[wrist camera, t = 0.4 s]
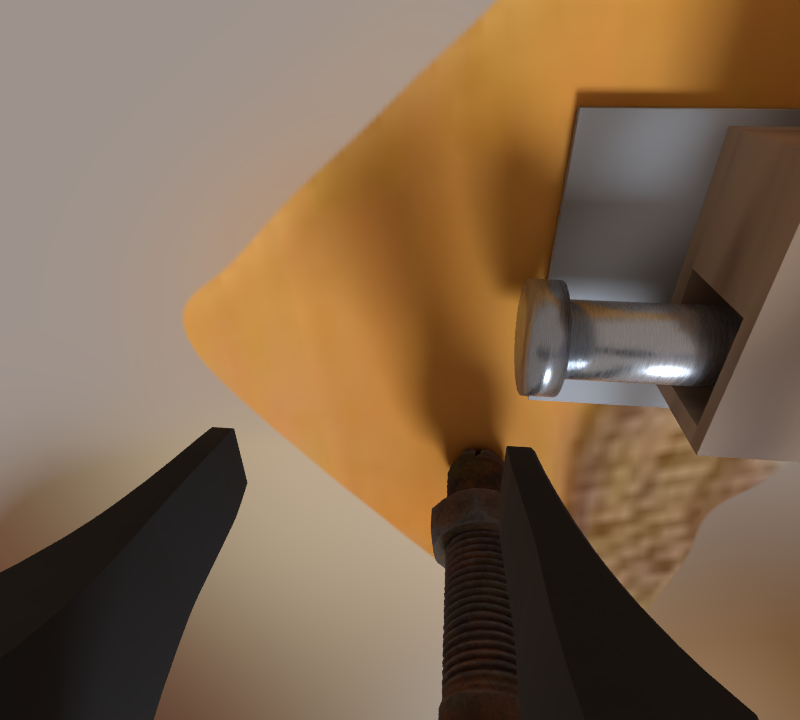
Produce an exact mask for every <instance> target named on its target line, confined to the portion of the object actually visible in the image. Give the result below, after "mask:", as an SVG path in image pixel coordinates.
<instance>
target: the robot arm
mask: <svg viewBox="0 0 800 720" xmlns="http://www.w3.org/2000/svg"><path fill="white" fill-rule="evenodd" d="M246 485H247V479H246V475H245V471H244V467H243V463H242V459H241V455H240V451H239V447H238V443H237V439H236V435H235V431H234V429H232V428H217V427H212V428H211V429H209V430H208V431H207V432H205V433H204V434H203V435H202V436H200V437H199V438H198V439H197V440H196V441H194V442H193V443H192V444H191V445H190V446H188V447H187V448H186V449H185V450H184V451H182V452H181V453H180V454H179V455H177V456H176V457H175V458H174V459H173V460H171V461H170V462H169V463H168V464H166V465H165V466H164V467H163V468H161V469H160V470H159V471H158V472H156V473H155V474H154V475H153V476H151V477H150V478H149V479H148V480H146V481H145V482H144V483H143V484H141V485H140V486H138V487H137V488H136V489H135V490H133V491H132V492H130V493H129V494H128V495H126V496H125V497H124V498H122V499H121V500H120V501H118V502H117V503H116V504H114V505H113V506H111V507H110V508H109V509H107V510H106V511H104V512H103V513H102V514H100V515H98V516H97V517H95V518H94V519H92V520H91V521H89V522H88V523H86V524H85V525H83V526H81V527H80V528H78V529H77V530H75V531H74V532H72V533H71V534H69V535H67V536H66V537H64V538H62V539H61V540H59V541H57V542H55V543H54V544H52V545H50V546H48V547H46V548H45V549H43V550H41V551H39V552H38V553H36V554H34V555H32V556H30V557H29V558H27V559H25V560H23V561H22V562H20V563H18V564H16V565H14V566H12V567H10V568H8V569H6V570H4V571H2V572H0V720H153V719H154V716H155V713H156V710H157V707H158V704H159V701H160V697H161V694H162V691H163V688H164V685H165V682H166V680H167V677H168V674H169V671H170V668H171V665H172V662H173V659H174V656H175V654H176V651H177V648H178V645H179V643H180V640H181V637H182V634H183V631H184V629H185V626H186V624H187V621H188V618H189V616H190V613H191V611H192V608H193V606H194V604H195V601H196V599H197V597H198V595H199V593H200V591H201V589H202V587H203V585H204V582H205V581H206V578H207V576H208V574H209V572H210V570H211V568H212V566H213V564H214V562H215V560H216V558H217V556H218V554H219V552H220V550H221V548H222V546H223V544H224V541H225V539H226V537H227V535H228V533H229V531H230V529H231V527H232V525H233V523H234V520H235V518H236V515H237V513H238V510H239V507H240V504H241V501H242V498H243V495H244V492H245V489H246ZM498 502H499V529H500V543H501V550H502V556H503V563H504V570H505V576H506V583H507V589H508V596H509V602H510V609H511V616H512V622H513V630H514V639H515V650H516V667H517V683H518V702H519V720H759V719H758V717H757V715H756V714H755V713H754V712H752V711H751V710H750V709H749V708H747V706H745V705H744V704H743V703H742V702H741V701H739V700H738V699H737V698H736V697H734V696H733V694H731V693H730V692H729V691H728V690H727V689H725V688H724V687H723V686H722V685H721V684H720V683H719V682H717V681H716V680H715V679H714V678H713V677H712V676H710V675H709V674H708V673H707V672H706V671H705V670H704V669H703V668H702V667H700V666H699V665H698V664H697V663H696V662H695V661H694V660H693V659H692V658H691V657H690V656H689V655H688V654H687V653H686V652H685V651H684V650H683V649H682V648H681V647H679V646H678V645H677V644H676V643H675V642H674V640H672V639H671V637H670V636H669V635H668V634H667V633H666V632H665V631H664V630H663V629H662V628H661V627H660V626H659V625H658V624H657V623H656V622H655V621H654V620H653V619H652V618H651V617H650V616H649V615H648V614H647V612H646V611H645V610H644V609H643V608H642V607H641V606H640V605H639V604H638V603H637V602H636V601H635V599H634V598H633V597H632V596H631V595H630V594H629V592H628V591H627V590H626V589H625V588H624V587H623V586H622V584H621V583H620V582H619V581H618V580H617V578H616V577H615V576H614V575H613V573H612V572H611V571H610V570H609V569H608V567H607V566H606V565H605V563H604V562H603V561H602V560H601V558H600V557H599V556H598V554H597V553H596V552H595V550H594V549H593V548H592V546H591V545H590V543H589V542H588V540H587V539H586V538H585V536H584V535H583V533H582V532H581V531H580V529H579V528H578V526H577V525H576V523H575V522H574V520H573V519H572V517H571V515H570V514H569V512H568V511H567V509H566V507H565V506H564V504H563V503H562V501H561V499H560V498H559V496H558V494H557V493H556V491H555V489H554V488H553V486H552V484H551V482H550V480H549V479H548V477H547V475H546V473H545V471H544V469H543V467H542V465H541V463H540V461H539V459H538V457H537V455H536V453H535V451H534V450H533V449H532V448H530V447H514V446H507V448H506V454H505V461H504V468H503V474H502V481H501V488H500V494H499V501H498Z"/></svg>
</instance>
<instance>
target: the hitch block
mask: <svg viewBox="0 0 800 720" xmlns="http://www.w3.org/2000/svg"><path fill="white" fill-rule="evenodd" d="M548 279H556V280H564V282H565V283H566V285H567V287H568V291H569V295H570V299H576V300H599V301H623V302H646V303H670V304H694V305H717V306H732V307H733V308H734V309H735V310H736V311H737V312H738V313H739V314H740V315H741V316H742V317H743V318H744V319H743V321H742V323H741V326H740V328H739V330H738V333H737V335H736V337H735V340H734V342H733V344H732V347H731V349H730V351H729V354H728V356H727V358H726V361H725V363H724V365H723V368H722V370H721V373H720V375H719V377H718V380H717V382H716V384H715V387H714V388H713V387H695V386H677V385H659V384H641V383H623V382H606V381H588V380H570V379H565V380H564V383H563V386H562V388H561V390H560V392H559V394H558V395H557V396H556V397H539V396H528V400H545V401H562V402H579V403H596V404H613V405H629V406H646V407H663V408H670V410H671V411H672V413H673V415H674V417H675V418H676V420H677V422H678V424H679V425H680V427H681V429H682V431H683V432H684V434H685V436H686V438H687V439H688V441H689V443H690V444H691V446H692V448H693V450H694V451H695V453H696V455H701V456H716V457H731V458H746V459H761V460H776V461H791V462H800V109H767V108H672V107H578V108H577V114H576V119H575V125H574V131H573V137H572V142H571V148H570V154H569V159H568V165H567V171H566V177H565V182H564V188H563V194H562V200H561V205H560V211H559V217H558V222H557V228H556V234H555V240H554V245H553V251H552V257H551V262H550V268H549V274H548Z"/></svg>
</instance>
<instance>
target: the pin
mask: <svg viewBox="0 0 800 720" xmlns="http://www.w3.org/2000/svg"><path fill="white" fill-rule="evenodd" d="M743 319H744V318H743V317H742V316H741V315H740V314H739V313H738V312H737V311H736V310H735V309H734V308H733V307H732V306H717V305H694V304H670V303H646V302H623V301H599V300H576V299H570V295H569V291H568V287H567V285H566V283H565V282H564V280H556V279H531V278H528V279H527V280H526V281H525V283H524V285H523V288H522V292H521V296H520V300H519V306H518V313H517V321H516V331H515V351H514V364H515V380H516V386H517V390H518V393H519V395H522V396H539V397H556V396H557V395H558V394H559V392H560V390H561V388H562V386H563V383H564V380H565V379H570V380H588V381H606V382H623V383H641V384H659V385H677V386H695V387H713V388H714V387H715V384H716V382H717V380H718V377H719V375H720V373H721V370H722V368H723V365H724V363H725V361H726V358H727V356H728V354H729V351H730V349H731V347H732V344H733V342H734V340H735V337H736V335H737V333H738V330H739V328H740V326H741V323H742V321H743Z"/></svg>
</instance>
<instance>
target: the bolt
mask: <svg viewBox="0 0 800 720" xmlns="http://www.w3.org/2000/svg"><path fill="white" fill-rule="evenodd" d="M475 452H476V450H475V451H474V450H473V449H468V450H464V452H463V454H462V455H461V456H460V457H459V459H458V460H457V461H456V462H455V463H454V464H453V465H452V466H451V468H450V470H449V472H448V481H447V483H448V485H447V498H445V499H443V500H442V501H441V502H440V503H438V504H437V505H436V506H435V507H434V508H432V515H431V535H432V544H433V551H434V555H435V559H436V561H437V563H439V564H440V565H441V566H443V567H444V568H445V588H444V589H445V593H444V597H445V600H444V606H445V607H444V626H443V629H444V634H443V639H444V640H443V658H444V659H443V662H442V664H443V671H442V675H443V680H442V702H441V704H440V707H439V719H438V720H519V702H518V683H517V667H516V650H515V639H514V630H513V622H512V616H511V609H510V602H509V596H508V589H507V583H506V576H505V570H504V563H503V556H502V550H501V543H500V529H499V502H498V501H499V494H500V488H501V481H502V474H503V468H504V461H503V460H502V459H501V458H500V457H499V456H497V455H496V454H495V453H493V452H492V451H489V450H486V449H485V450H484V451H481V453H480V454H479V455H477V456H476V458H475Z"/></svg>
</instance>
